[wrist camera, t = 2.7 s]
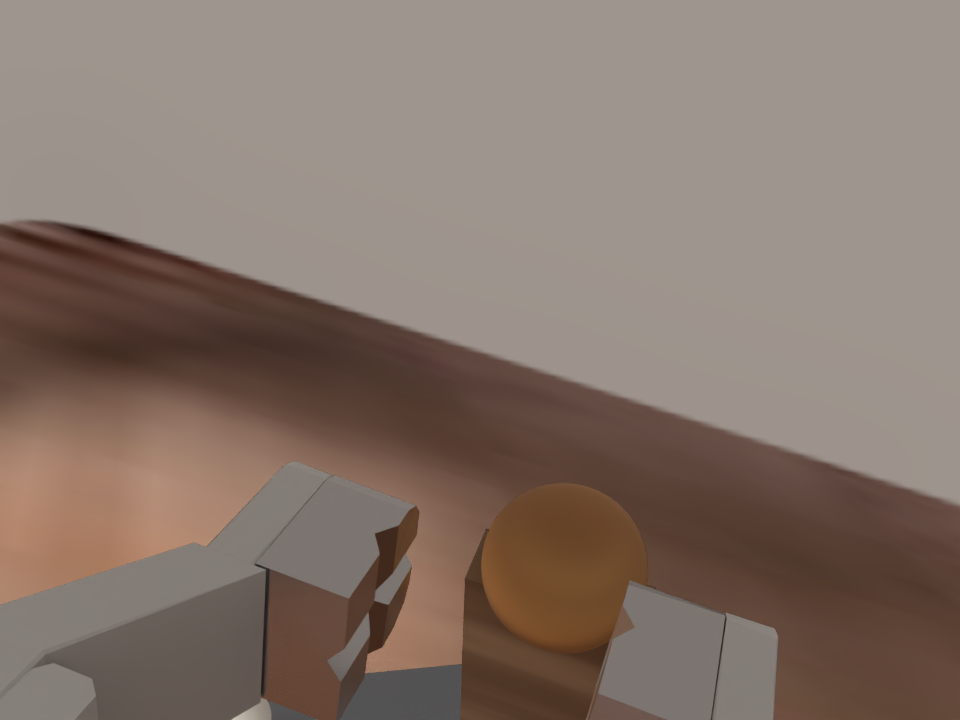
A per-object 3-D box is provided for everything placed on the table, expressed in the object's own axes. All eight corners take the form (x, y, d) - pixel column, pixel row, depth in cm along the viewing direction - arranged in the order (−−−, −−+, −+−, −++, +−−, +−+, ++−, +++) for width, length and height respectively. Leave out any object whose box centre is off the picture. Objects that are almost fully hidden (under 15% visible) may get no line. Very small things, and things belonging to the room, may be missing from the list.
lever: (557, 890, 30) (672, 648, 15) (434, 837, 31) (424, 558, 16) (584, 793, 32) (711, 492, 17) (468, 746, 33) (489, 420, 18)
